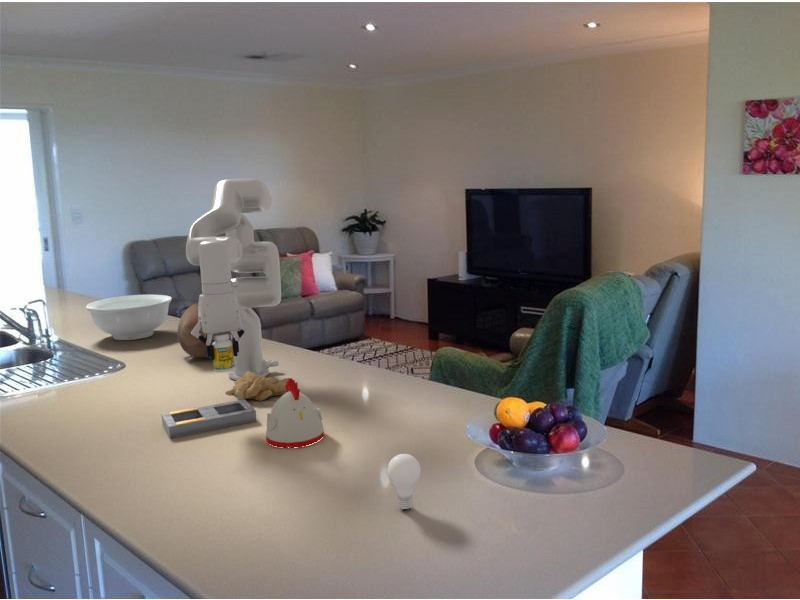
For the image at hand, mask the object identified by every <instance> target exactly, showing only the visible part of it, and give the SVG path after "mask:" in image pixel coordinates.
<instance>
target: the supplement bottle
mask: <svg viewBox="0 0 800 600" xmlns="http://www.w3.org/2000/svg"><path fill="white" fill-rule="evenodd" d="M213 339H214V340H215V342H213V343H212V345H213V350H214V360H212V363H213V370H214V371H215V372H217V373H226V372H228V373H229V372H231V371H232V370H233V369H234V368H235V363H234V352H233V343H232V341H230V340H229V333H227V332H223V333H216V334H214V335H213Z"/></svg>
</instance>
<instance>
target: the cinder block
mask: <svg viewBox="0 0 800 600" xmlns="http://www.w3.org/2000/svg"><path fill="white" fill-rule="evenodd" d="M160 414H161V422H162V423H161V425H162V427H163V429H164V428H165V429H164V430H165V433H166V434H167V436H168V435H169V436H168V438H169V437H170V438H169V439H172V438H171V437H175V438H178V437H177V436H180V437H184V436H183V435H185V436H188V434H190V435H194V433H195V434H199V432H201V433H204V432H203V431H206V432H209V431H208V430H211V431H214V430H213V429H216V430H220V429H219V428H221V429H226V428H231V427H230V426H232V427H235V426H241V425H246V424H252V423H256V422H257V410H256V409H255V408H254V407H253V406H252V405H251V404H250V403H249V402H248V401H247V400H246V399H244V400H238V399H237V400H234V401H227V402H223V403H222V402H221V403H216V404H211V405H206V406H200V407H190V408H185V409H179V410H173V411H169V412H167V413H160ZM225 427H226V428H225Z"/></svg>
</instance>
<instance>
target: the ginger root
mask: <svg viewBox="0 0 800 600" xmlns="http://www.w3.org/2000/svg"><path fill="white" fill-rule="evenodd" d="M242 377H243V378H240V379H238V380H234V382H233V383H234V386H232V389H230V390H226V391H225V395H226V396H234V397H235V398H236V399H237V401H238V400H244V399H245V400H246V399H250V400H256V401H265V400H266V399H268V398H270V397H272V396H273V397H274V396H280V395H281V396H282V395H284V394H285V393H287V392H286V388H285V385H286V384H287V381H289V379H290V377H287V378H285V377H284V378H283V379H281V380H279V378H273V377H271V376H270V377H267V376H265V375H263V376H261V377H260V376H257V375H256V374H255V373H254V372H250V371H247V372H246V373H245V374H244V375H243V376H242Z"/></svg>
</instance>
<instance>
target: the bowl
mask: <svg viewBox="0 0 800 600" xmlns="http://www.w3.org/2000/svg"><path fill="white" fill-rule="evenodd" d="M172 299H173V297H172V296H169V295H166V294H165V295H164V294H131V295H122V296H115V297H110V298H109V297H108V298H103V299H100V300H96V301H93V302H90V303H87V305H85V308H86V310H87V311H89V313H90V315H91V318H92V321H93V323H94V325H95V326H96V327H97V328H98V329H99V330H100V331H102V332H104V333H106V334H110V335H111V336H112V338H113V339H114V340H117V341H133V340H140V339H146V338H149V337H151V336H153V335H154V331H155V330H156V329H157V328H159V327H160V326H161V325H162V324H163V323H164V322H165V321H166V319H167V317H168V314H169V307H170V303H171V301H173V300H172Z"/></svg>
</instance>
